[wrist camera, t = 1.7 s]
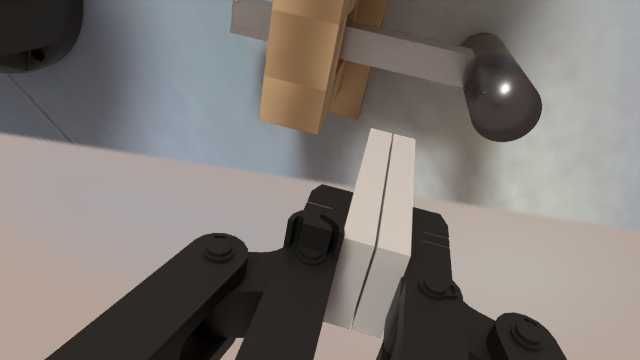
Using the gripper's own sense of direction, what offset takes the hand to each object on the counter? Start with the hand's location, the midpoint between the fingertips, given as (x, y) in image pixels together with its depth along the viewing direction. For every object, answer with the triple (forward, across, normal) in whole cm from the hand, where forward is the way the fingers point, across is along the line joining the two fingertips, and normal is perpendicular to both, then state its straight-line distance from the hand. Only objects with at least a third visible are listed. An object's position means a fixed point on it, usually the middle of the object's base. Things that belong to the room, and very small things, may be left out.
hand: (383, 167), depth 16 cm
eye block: (+22, -6, 0) cm, 23 cm away
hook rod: (+22, -2, 0) cm, 22 cm away
